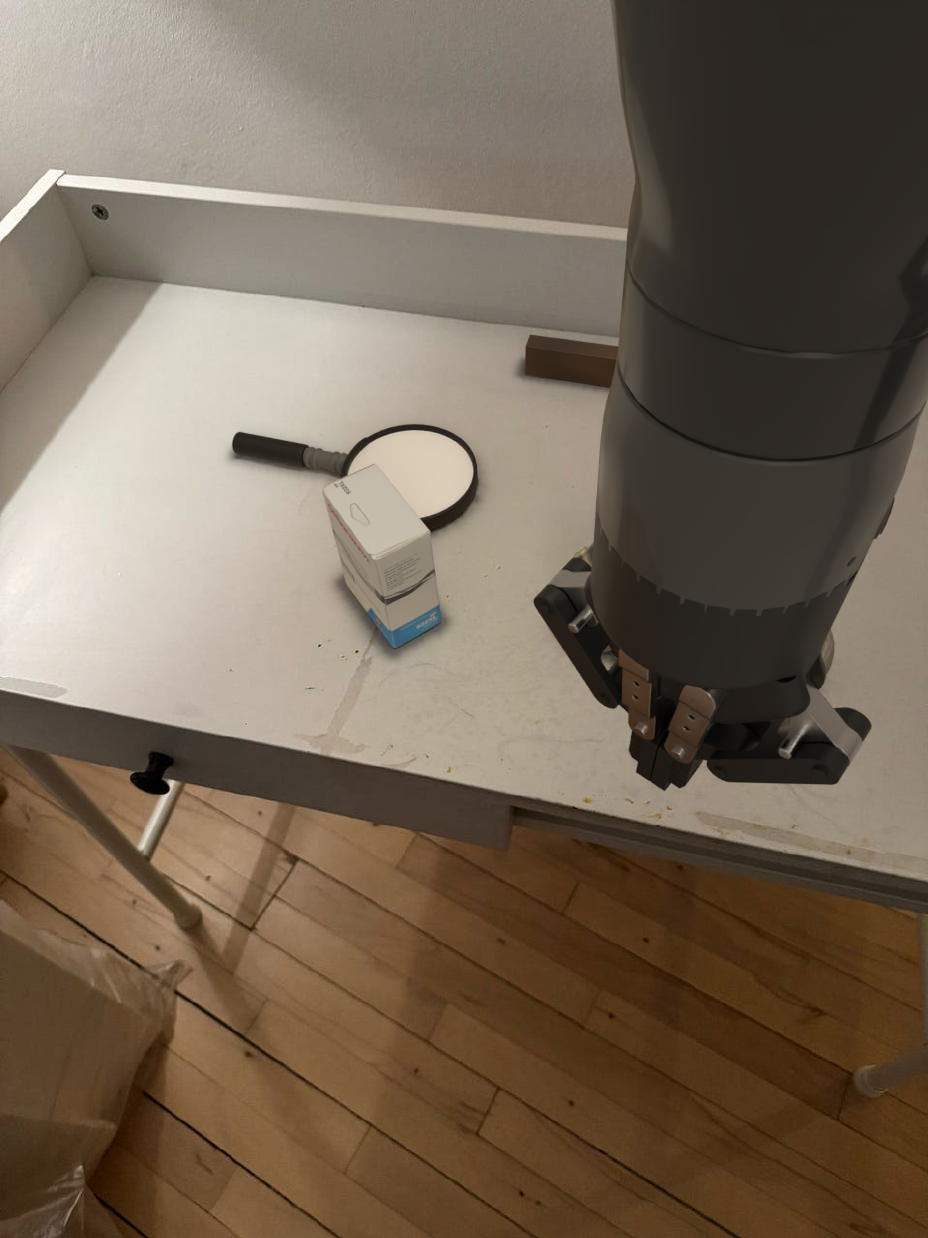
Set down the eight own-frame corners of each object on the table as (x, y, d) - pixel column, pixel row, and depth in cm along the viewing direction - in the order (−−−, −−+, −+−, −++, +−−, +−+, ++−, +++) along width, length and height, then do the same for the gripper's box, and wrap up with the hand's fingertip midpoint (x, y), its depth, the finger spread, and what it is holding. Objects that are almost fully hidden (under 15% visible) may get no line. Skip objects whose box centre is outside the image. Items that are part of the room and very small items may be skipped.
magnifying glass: (266, 408, 84) (261, 391, 83) (493, 450, 79) (493, 433, 78) (210, 496, 78) (203, 480, 76) (454, 547, 73) (453, 531, 71)
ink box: (444, 623, 68) (433, 529, 59) (392, 651, 67) (372, 560, 57) (393, 556, 73) (375, 458, 63) (343, 581, 71) (317, 485, 62)
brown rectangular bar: (808, 401, 81) (819, 373, 78) (807, 415, 80) (818, 386, 77) (529, 362, 87) (529, 334, 84) (524, 374, 86) (525, 346, 83)
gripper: (464, 475, 24) (494, 746, 38) (914, 716, 19) (756, 930, 33) (609, 342, 27) (588, 638, 41) (1034, 515, 22) (842, 790, 36)
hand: (662, 767), depth 37 cm, fingers closed
